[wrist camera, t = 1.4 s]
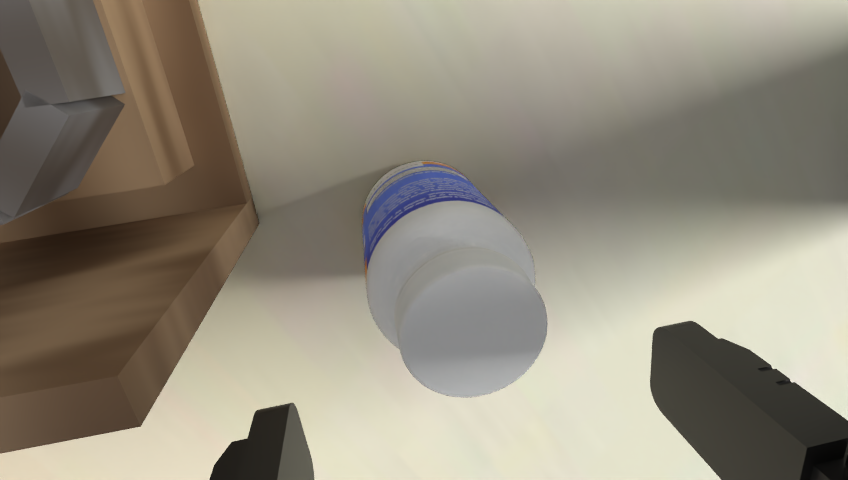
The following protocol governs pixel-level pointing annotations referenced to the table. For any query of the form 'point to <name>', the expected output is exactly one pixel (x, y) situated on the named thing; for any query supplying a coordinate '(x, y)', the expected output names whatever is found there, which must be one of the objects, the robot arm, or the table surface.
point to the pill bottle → (450, 281)
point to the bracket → (108, 209)
